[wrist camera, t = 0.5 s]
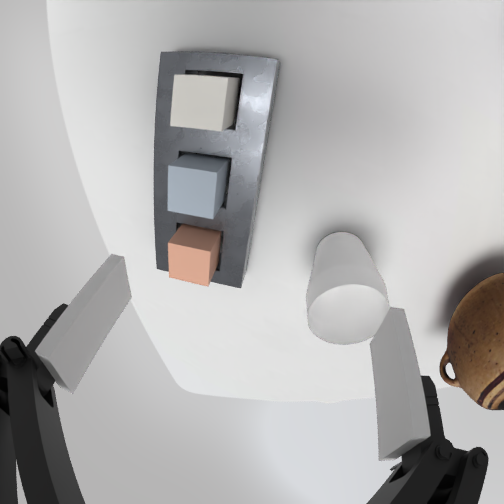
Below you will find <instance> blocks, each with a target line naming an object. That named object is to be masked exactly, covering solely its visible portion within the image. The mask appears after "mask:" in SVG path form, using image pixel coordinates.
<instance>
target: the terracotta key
mask: <svg viewBox="0 0 504 504" xmlns="http://www.w3.org/2000/svg"><path fill="white" fill-rule="evenodd" d="M221 234H222V231H218V230H213V229H208V228H203V227H198V226H193V225H188V224H183V223H182V225H181V226H180V227H179V229H178V230H177V231H176V233H175V234H174V235H173V237H172V238H171V239H170V241H169V242H168V262H169V277H170V278H175V279H179V280H183V281H187V282H191V283H195V284H200V285H204V286H209V284H210V281H211V279H212V277H213V275H214V272H215V270H216V268H217V265H218V263H219V255H220V244H221Z"/></svg>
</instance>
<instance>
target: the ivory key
mask: <svg viewBox="0 0 504 504" xmlns="http://www.w3.org/2000/svg"><path fill="white" fill-rule="evenodd" d="M239 82H240V78H234V77H224V76H211V75H195V74H183V75H174V83H173V94H172V107H171V121H170V126H176V127H186V128H196V129H205V130H213V131H221V132H222V131H223V130H225V129H226V128H228V127H229V126H231V125H232V124H234V119H235V111H236V104H237V96H238V89H239Z"/></svg>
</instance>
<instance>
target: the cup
mask: <svg viewBox="0 0 504 504" xmlns="http://www.w3.org/2000/svg"><path fill="white" fill-rule="evenodd" d="M306 305H307V322H308V326H309V328H310V330H311V331H312V332H313V333H314V334H315V335H316V336H317V337H318V338H320V339H322V340H324V341H326V342H329V343H333V344H354V343H359V342H362V341H365V340H367V339H369V338H371V337H373V336H374V335H375V334H376V332H377V331H378V329H379V327H380V325H381V324H382V322H383V320H384V318H385V316H386V314H387V313H388V311H389V309H390V307H389V301H388V296H387V289H386V285H385V283H384V280H383V278H382V276H381V275H380V273H379V271H378V269H377V267H376V266H375V264H374V262H373V260H372V258H371V257H370V255H369V253H368V251H367V250H366V248H365V246H364V244H363V243H362V241H361V240H360V239H359V238H358V237H357V236H355V235H354V234H351V233H348V232H336V233H332V234H330V235H328V236H326V237H325V238H324V239H323V240H322V241H321V242H320V243H319V245H318V247H317V250H316V255H315V259H314V263H313V268H312V272H311V276H310V280H309V284H308V289H307V294H306Z"/></svg>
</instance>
